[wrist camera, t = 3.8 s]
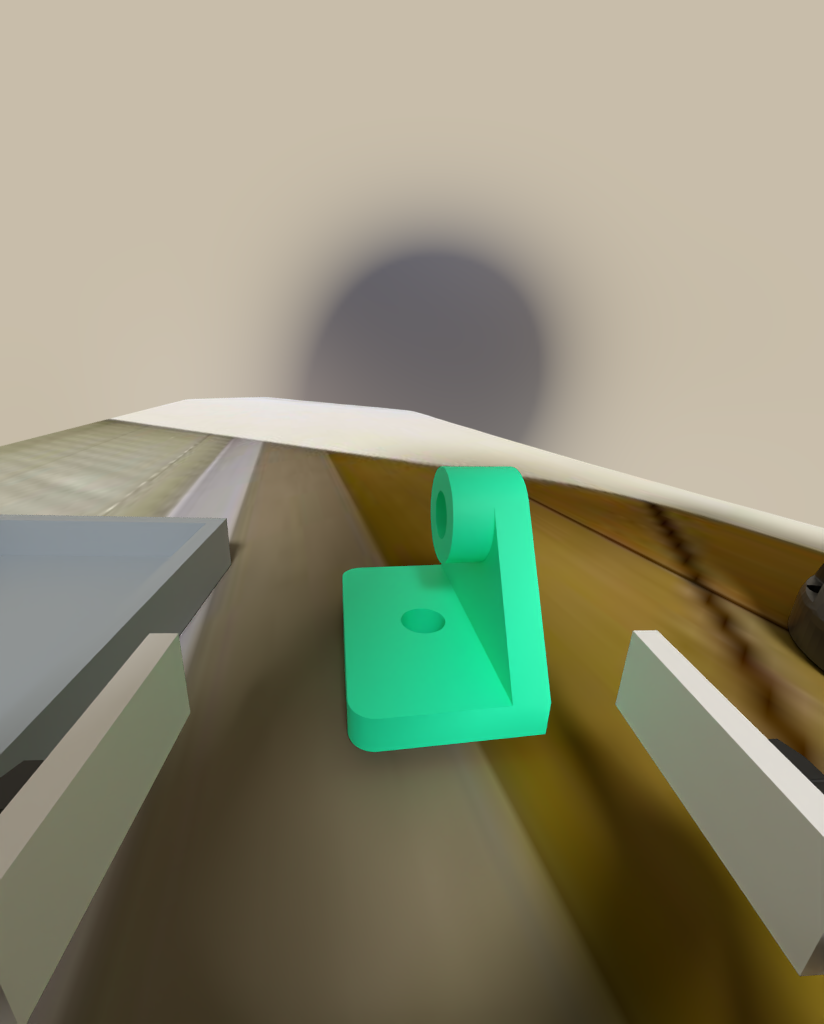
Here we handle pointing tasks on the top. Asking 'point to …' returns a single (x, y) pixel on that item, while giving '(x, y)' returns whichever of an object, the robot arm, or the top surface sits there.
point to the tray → (89, 610)
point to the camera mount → (451, 626)
